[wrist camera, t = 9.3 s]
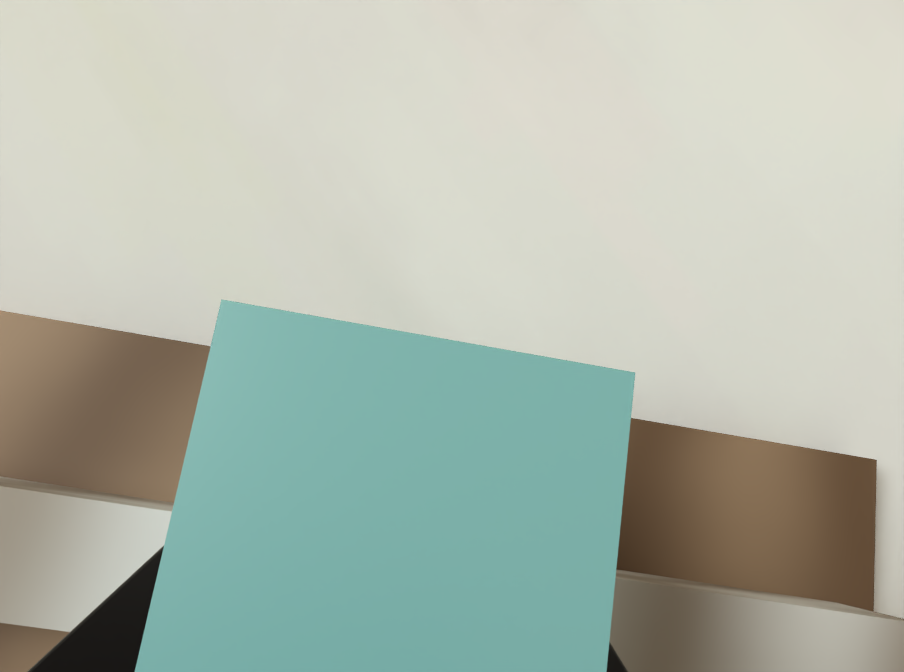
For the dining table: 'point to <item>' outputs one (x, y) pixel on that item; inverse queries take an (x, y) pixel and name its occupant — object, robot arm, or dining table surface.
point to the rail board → (640, 542)
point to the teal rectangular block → (390, 506)
